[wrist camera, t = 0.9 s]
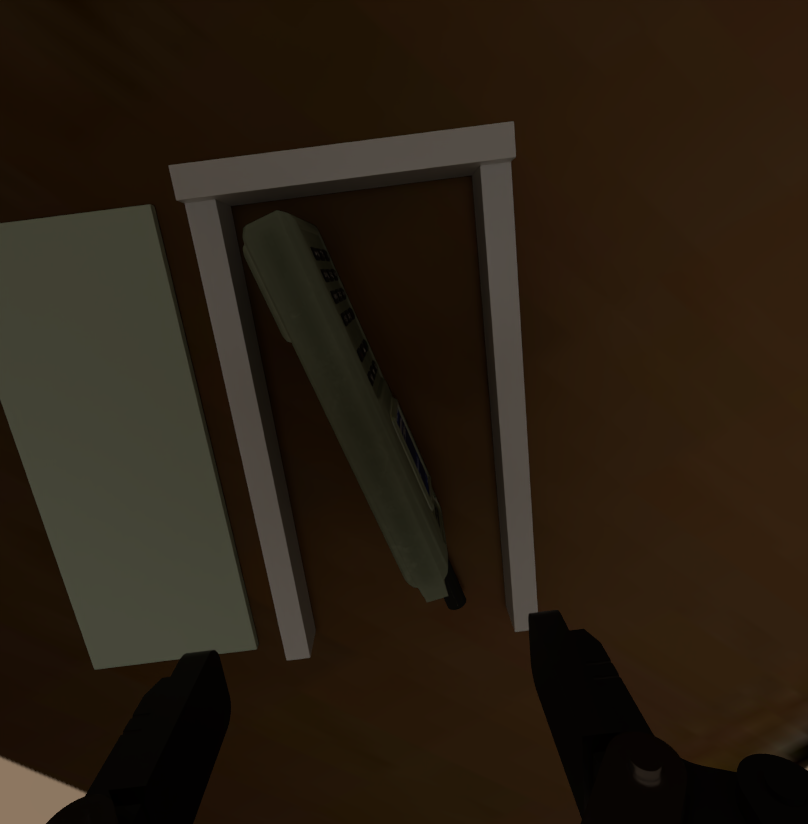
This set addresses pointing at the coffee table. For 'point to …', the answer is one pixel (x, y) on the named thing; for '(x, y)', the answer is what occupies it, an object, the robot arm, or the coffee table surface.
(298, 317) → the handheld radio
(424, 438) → the coffee table surface
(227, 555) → the green mat
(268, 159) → the white u-shaped frame
